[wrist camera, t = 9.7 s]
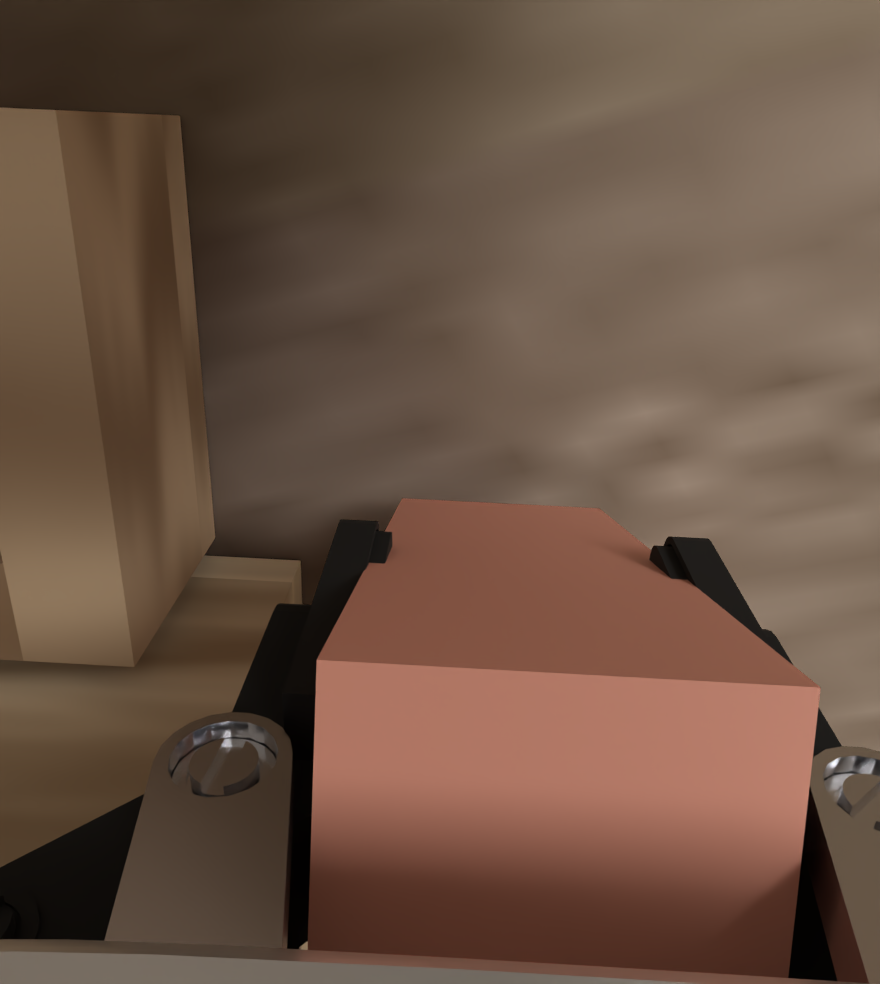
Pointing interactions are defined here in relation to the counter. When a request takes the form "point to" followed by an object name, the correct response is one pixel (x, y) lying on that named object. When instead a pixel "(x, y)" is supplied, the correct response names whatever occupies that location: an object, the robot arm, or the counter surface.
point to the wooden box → (105, 476)
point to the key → (553, 755)
